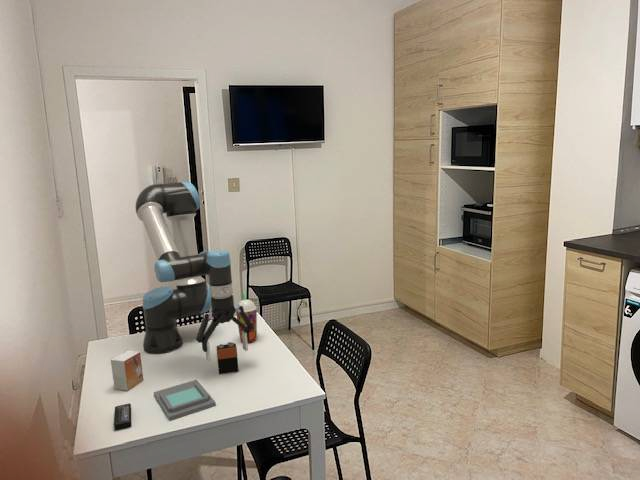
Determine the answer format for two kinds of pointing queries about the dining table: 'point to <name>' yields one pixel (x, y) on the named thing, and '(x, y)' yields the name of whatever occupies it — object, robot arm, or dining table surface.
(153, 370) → the dining table surface
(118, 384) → the small box
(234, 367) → the battery
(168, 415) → the dock
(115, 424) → the multiport hub
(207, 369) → the dining table surface
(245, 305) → the smoothie
